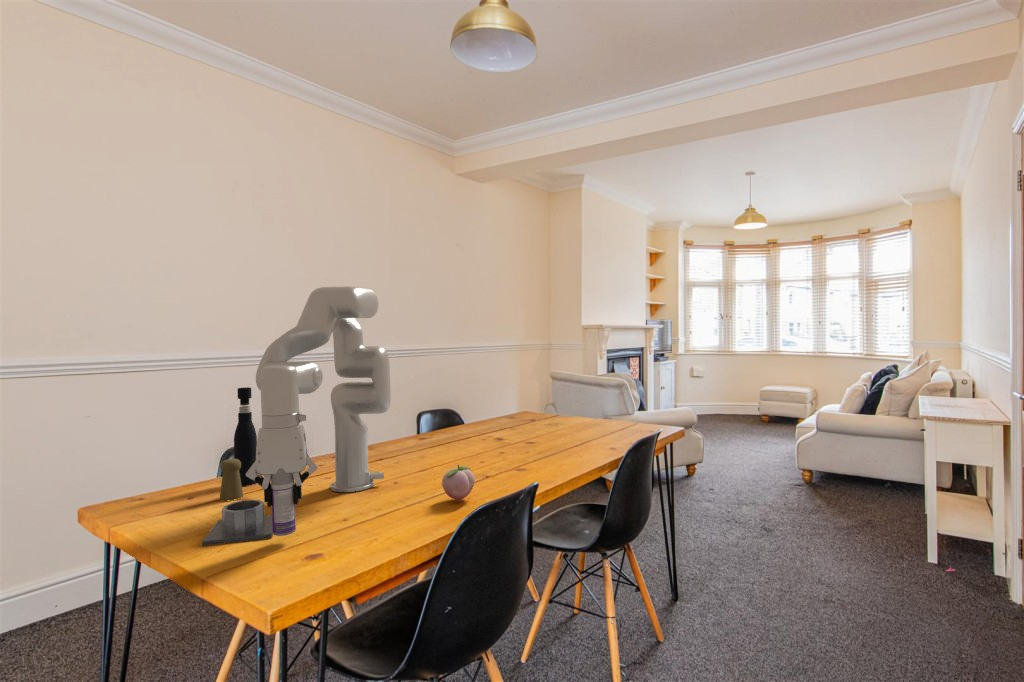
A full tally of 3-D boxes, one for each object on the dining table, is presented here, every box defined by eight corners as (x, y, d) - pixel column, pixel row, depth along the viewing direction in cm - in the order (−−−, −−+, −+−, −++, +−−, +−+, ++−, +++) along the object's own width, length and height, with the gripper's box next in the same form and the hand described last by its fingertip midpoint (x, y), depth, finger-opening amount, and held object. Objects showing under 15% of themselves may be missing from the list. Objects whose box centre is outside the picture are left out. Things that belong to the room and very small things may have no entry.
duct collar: (280, 517, 132) (280, 494, 132) (271, 538, 119) (270, 511, 119) (218, 524, 129) (218, 499, 129) (201, 545, 115) (201, 518, 115)
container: (277, 528, 118) (275, 461, 118) (298, 527, 118) (296, 461, 118) (269, 536, 113) (267, 467, 113) (291, 535, 114) (289, 466, 113)
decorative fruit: (454, 494, 150) (453, 459, 150) (479, 497, 146) (478, 462, 146) (435, 504, 142) (435, 467, 141) (461, 508, 138) (461, 470, 138)
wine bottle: (229, 485, 163) (228, 388, 163) (247, 480, 169) (245, 386, 169) (245, 487, 161) (243, 389, 160) (262, 481, 167) (260, 387, 166)
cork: (233, 501, 147) (232, 462, 146) (214, 500, 148) (213, 461, 148) (248, 495, 152) (247, 457, 152) (230, 494, 154) (229, 456, 154)
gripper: (323, 416, 121) (325, 494, 122) (241, 421, 116) (244, 502, 117) (320, 421, 114) (323, 505, 114) (233, 427, 109) (237, 514, 110)
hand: (283, 502), depth 116 cm, fingers closed on container, 4 cm apart
